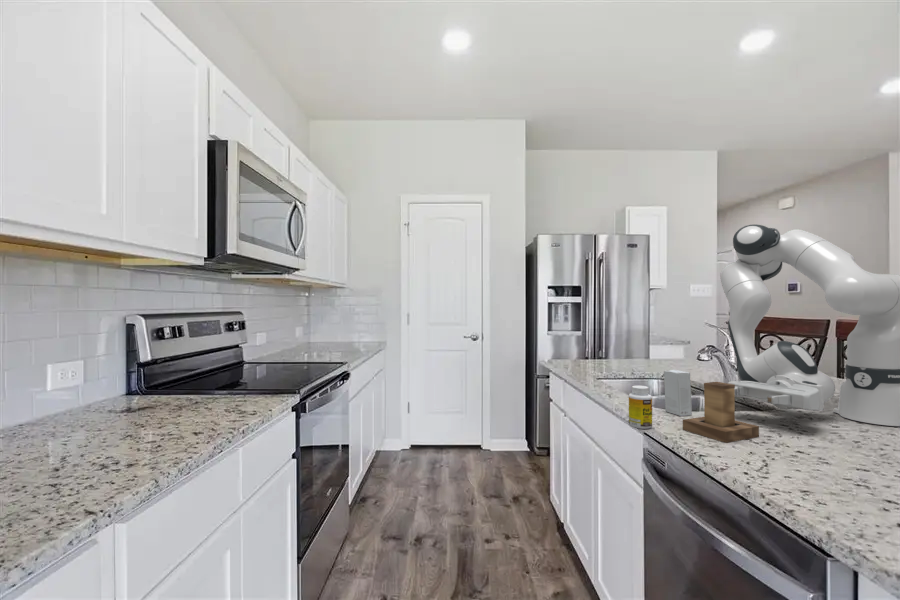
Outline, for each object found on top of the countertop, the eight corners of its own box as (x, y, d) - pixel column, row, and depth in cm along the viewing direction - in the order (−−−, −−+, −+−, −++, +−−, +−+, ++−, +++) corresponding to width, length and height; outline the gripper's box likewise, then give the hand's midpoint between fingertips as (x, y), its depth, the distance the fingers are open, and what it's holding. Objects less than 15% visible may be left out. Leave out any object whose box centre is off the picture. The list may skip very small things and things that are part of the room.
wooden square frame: (714, 424, 115) (714, 415, 115) (759, 436, 104) (758, 426, 105) (682, 429, 111) (682, 419, 111) (725, 442, 100) (725, 431, 100)
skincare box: (692, 415, 124) (692, 372, 124) (678, 416, 123) (678, 373, 124) (676, 410, 130) (676, 369, 130) (663, 411, 129) (663, 369, 130)
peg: (717, 429, 111) (716, 381, 111) (735, 434, 106) (734, 384, 106) (704, 431, 109) (703, 382, 109) (721, 437, 105) (721, 386, 105)
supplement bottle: (644, 431, 110) (643, 389, 110) (624, 425, 115) (623, 386, 115) (657, 427, 113) (656, 387, 113) (637, 422, 118) (636, 384, 118)
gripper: (746, 374, 127) (712, 377, 121) (830, 386, 108) (794, 390, 102) (746, 396, 126) (712, 400, 121) (830, 412, 108) (794, 418, 102)
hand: (750, 396), depth 112 cm, fingers open, 8 cm apart
